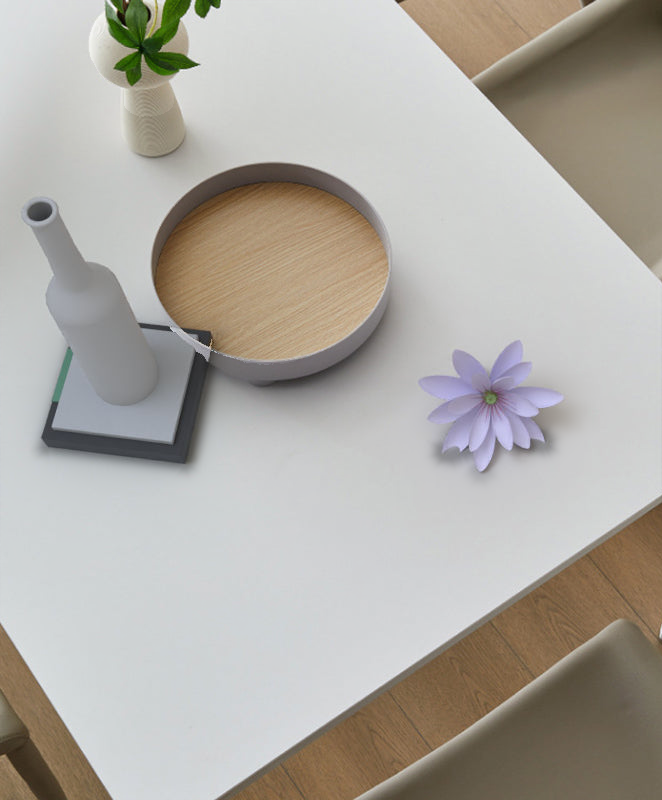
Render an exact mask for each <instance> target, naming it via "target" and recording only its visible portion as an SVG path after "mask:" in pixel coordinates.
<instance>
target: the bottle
mask: <svg viewBox="0 0 662 800" xmlns="http://www.w3.org/2000/svg"><path fill="white" fill-rule="evenodd" d="M21 219H22V221H23V223H25V224H26V225H27V226H28V227H30V229H31V231H32V233H33V235H34V236H35V238H36V240H37V242H38V244H39V246H40V248H41V249H42V252H43V253H44V255H45V257H46V259H47V261H48V264H49V266H50V269H51V271H52V273H53V276H52V278H51V279H50V280H49V282H48V285H47V289H46V292H45V304H46V307H47V309H48V311H49V314H50V315H51V317H52V319H53V321H54V323H55V324H56V325H57V327H58V330H59V331H60V333H61V334H62V336H63V338H64V340H65V341H66V343H67V345H68V347H70V348H71V350H72V352H73V354H74V355H75V357H76V359H77V361H78V362H79V364H80V366H81V368H82V369H83V371H84V373H85V375H86V376H87V378H88V380H89V381H90V383H91V385H92V386H93V388H94V389H95V391H96V393H97V395H98V396H99V397H101V398H102V399H103V400H104V401H106V402H108V403H110V404H113V405H119V406H126V405H132V404H135V403H137V402H139V401H141V400H143V399H144V398H146V397H147V396H148V395H149V394H150V393H151V392H152V391H153V389H154V388H155V386H156V384H157V381H158V376H159V371H158V365H157V363H156V361H155V359H154V356H153V354H152V352H151V349H150V347H149V345H148V343H147V341H146V339H145V337H144V334H143V332H142V330H141V328H140V326H139V324H138V323H139V321H138V320H137V317H136V315H135V314H134V313H135V312H134V311H133V308H132V306H131V304H130V302H129V300H128V298H127V296H126V294H125V292H124V289H123V288H122V286H121V283H120V282H119V279H118V278H117V276H116V273H114V271H112V270H111V269H110V268H109V267H107V266H105V265H103V264H100V263H99V262H98V263H97V262H94V261H86V260H85V258H84V257H83V255H82V253H81V252H80V250H79V249H78V247H77V246H76V244H75V241H74V240H73V238H72V236H71V234H70V232H69V230H68V228H67V226H66V224H65V222H64V220H63V218H62V216H61V214H60V208H59V206H58V203H57V202H56V201H55V200H54V199H53V198H51V197H48V196H36V197H34V198H31V199H29V200H28V201H27V202H26V203H24V205H23V207H22V209H21Z"/></svg>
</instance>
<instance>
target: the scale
mask: <svg viewBox="0 0 662 800" xmlns="http://www.w3.org/2000/svg"><path fill="white" fill-rule="evenodd" d="M138 324H139V326H140V328H141V330H142V332H143V334H144V337H145V339H146V341H147V343H148V345H149V347H150V349H151V352H152V354H153V356H154V359H155V361H156V363H157V365H158V371H159V376H158V381H157V384H156V386H155V388H154V389H153V391H152V392H151V393H150V394H149V395H148V396H147V397H146V398H144V399H143V400H141V401H139V402H137V403H135V404H132V405H126V406H119V405H113V404H110V403H108V402H106V401H104V400H103V399H102V398H101V397H99V396H98V395H97V393H96V391H95V389H94V388H93V386H92V385H91V383H90V381H89V380H88V378H87V376H86V375H85V373H84V371H83V369H82V368H81V366H80V364H79V362H78V361H77V359H76V357H75V355H74V354H73V352H72V350H71V348H70V347H69V346H67V348H66V351H65V355H64V358H63V362H62V365H61V368H60V370H59V374H58V378H57V380H56V384H55V389H54V390H53V394H52V398H51V404H50V407H49V410H48V414H47V417H46V420H45V424H44V427H43V430H42V433H41V437H40V440H42V441H43V443H44V444H45V445H46V446H47V448H54V449H62V450H69V451H79V452H84V453H85V452H86V453H95V454H101V455H110V456H117V457H118V456H119V457H127V458H134V459H142V460H149V461H159V462H166V463H175V464H181V465H185V464H186V462H187V458H188V453H189V450H190V449H189V448H190V445H191V441H192V436H193V432H194V429H195V424H196V419H197V415H198V411H199V406H200V402H201V398H202V393H203V389H204V384H205V380H206V377H207V372H208V368H209V363H210V361H209V362H207V361H206V359H205V357H204V356H203V355H202V354H200V353H198V352H196V350H195V348H194V347H193V346H192V345H190V344H189V343H187V342H186V341H185V340H183V339H182V338H181V337H180V336H179V335H178V334H177V333H176V332H173V331H172V330H171V329H170V327H169V326H170V325H161V324H154V323H146V322H138ZM180 328H181V329H182V330H183V331H184V332H186V333H187V334H188V335H189V336H190V337H192V338H193V339H195V340H197V341H199V342H201V343H202V344H204V345H206V346H208V347H209V346H210V343H211V339H212V338H213V334H212V332H211V331H210V330H203V329H195V328H188V327H180ZM213 341H214V340H213ZM213 341H212V342H213ZM213 343H214V342H213ZM211 346H212V345H211Z"/></svg>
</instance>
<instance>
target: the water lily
mask: <svg viewBox="0 0 662 800" xmlns="http://www.w3.org/2000/svg"><path fill="white" fill-rule="evenodd" d="M523 356H524V347H523V343H522V341H521V339H516V340H514V341H512V342H510V343H509V344H508V345H507V346H505V348H503V350H501V352H500V354H499V355H498V357H497V358H496V360H495V361H494V363H493V365H492V367H491V369H490V374H489V376H488V372H487V370H486V368H485V367H484V366H483V365H482V364H481V362H480V361H479V360H478V359H477V358H476V357H475V356H473V355H472V354H471V353H469V352H467V351H465V350H462V349H457V348H456V349H454V350H453V351H452V354H451V362H452V365H453V368H454V371H455V372H456V373H457V375H458V376H455V375H445V374H434V375H433V374H432V375H426V376H423V377H421V378H419V379H418V380H417V384H418V385H419V387H420V388H421V389H422V390H423V391H424V392H425V393H427V394H428V395H430V396H432V397H434V398H437V399H441V400H445V401H444V402H442V403H440V404H438V406H437V407H435V408H434V409H433V410H432V411H431V412H430V413H429V414H428V415H427V417H426V420H427V421H428V422H430V423H433V424H437V425H439V424H441V425H442V424H449V423H451V422H454V423H453V424H452V426H451V427H450V428H449V430H448V432H447V435H446V436H445V439H444V440H443V444H442V450H441V453H442V454H444V453H445V452H446V451H447V450H448V449H450V448H453V447H456V448H458V449H459V453H461V452H462V451H463V450H465V449H466V448H467V447H468V450H469V452H470V453H472V455H473V461H474V465H475V467H476V470H478V472H480V473H481V472H483V471H484V470H485V469H486V468H487V467H488V466H489V464H490V462H491V461H492V458H493V455H494V451H495V447H496V439H497V441H498V442H499V444H500V445H501V446H502V447H503V448H504V449H505V450H507V451H512V450H513V446H514V444H515V445H517V446H519V448H523V449H526V450H528V449H530V447H531V439H534V440H538V441H540V442H542V443H546V441H545V437H544V434H543V432H542V430H541V428H540V427H539V426H538V424H537V423H536V421H534V420H533V419H532V417H535V416H537V415H539V413H540V410H539V409H547V408H549V407H554V406H556V405H558V404H559V403H561V402H563V400H564V399H565V396H564V395H563V394H562V393H560V392H559V391H557V390H554V389H551V388H548V387H541V386H519V385H521V383H523V382H524V381H525V380H527V378H528V377H529V375H530V373H531V372H532V368H533V363H532V361H522V360H523Z"/></svg>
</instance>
